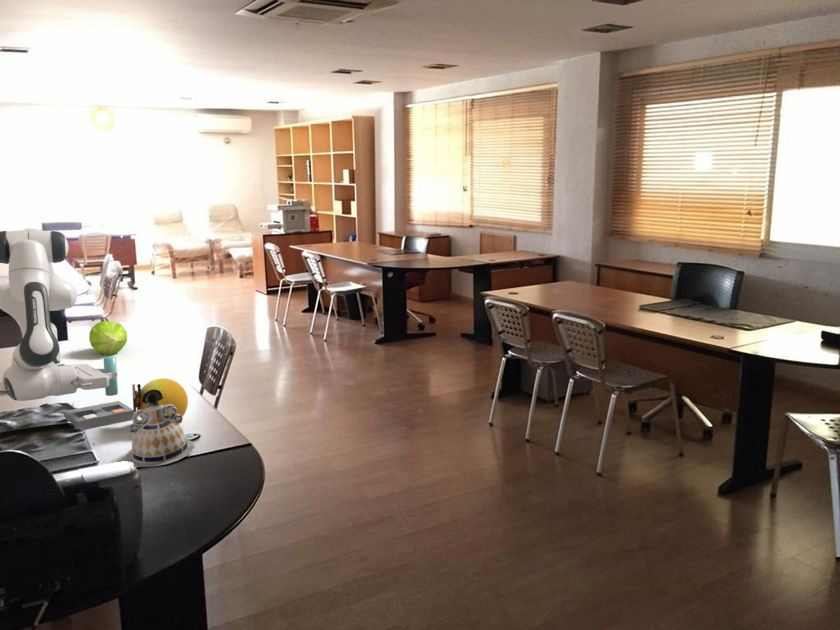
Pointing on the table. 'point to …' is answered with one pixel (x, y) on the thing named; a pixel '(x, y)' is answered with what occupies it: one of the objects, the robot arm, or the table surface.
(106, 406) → the socket board
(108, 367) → the teal rounded cylinder
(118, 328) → the lettuce
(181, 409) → the emoji
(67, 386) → the robot arm
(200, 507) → the table surface
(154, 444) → the figurine
